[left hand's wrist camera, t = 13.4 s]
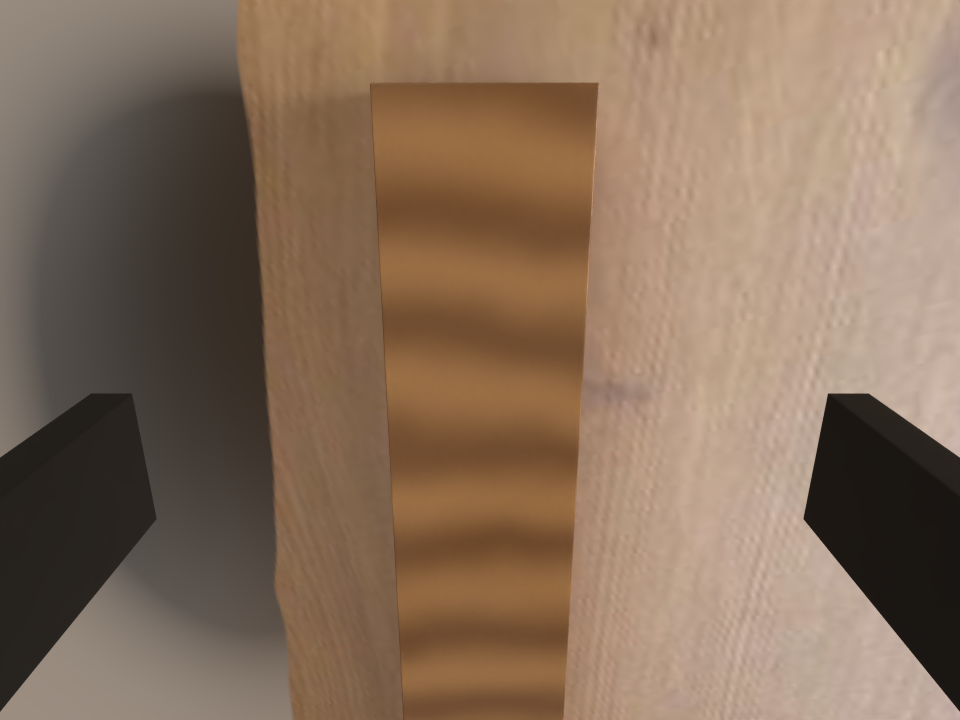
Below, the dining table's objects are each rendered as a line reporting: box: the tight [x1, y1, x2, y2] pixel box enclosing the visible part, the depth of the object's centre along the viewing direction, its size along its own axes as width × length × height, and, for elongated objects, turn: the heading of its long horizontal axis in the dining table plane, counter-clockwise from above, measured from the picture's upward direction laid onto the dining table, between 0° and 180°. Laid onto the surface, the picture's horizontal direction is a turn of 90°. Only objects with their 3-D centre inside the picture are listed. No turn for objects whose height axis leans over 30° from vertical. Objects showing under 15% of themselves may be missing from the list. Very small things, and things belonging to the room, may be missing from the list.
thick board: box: [370, 83, 599, 720], centre depth 40 cm, size 57×10×7 cm, turn 0°
